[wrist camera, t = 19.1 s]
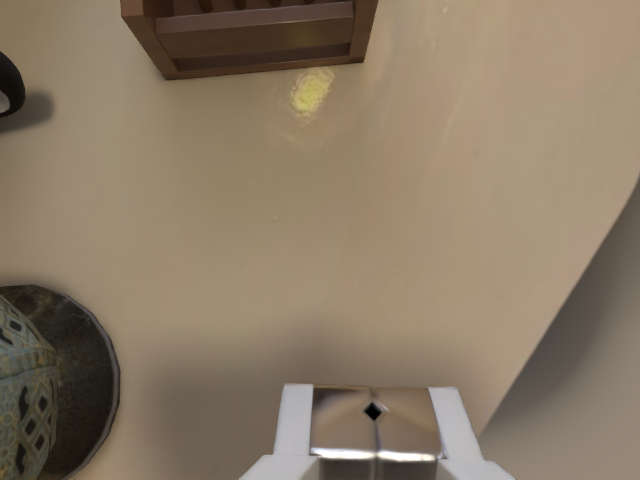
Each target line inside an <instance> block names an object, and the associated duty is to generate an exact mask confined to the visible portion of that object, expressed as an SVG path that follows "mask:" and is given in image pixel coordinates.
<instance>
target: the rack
mask: <svg viewBox="0 0 640 480" xmlns="http://www.w3.org/2000/svg"><path fill="white" fill-rule="evenodd" d="M120 3H121V17H122V18H123V20H124V21H125V23H126V24H127V25H128V27H129V28H130V30H131V31H132V33H133V34H134V35H135V37H136V38H137V40H138V41H139V43H140V44H141V45H142V47H143V48H144V50H145V51H146V53H147V54H148V55H149V57H150V58H151V60H152V61H153V63H154V64H155V65H156V67H157V68H158V70H159V71H160V73H161V74H162V75H163V77H164V78H165V80H172V79H183V78H194V77H205V76H215V75H226V74H237V73H248V72H259V71H270V70H281V69H292V68H302V67H313V66H324V65H335V64H346V63H357V62H364V59H365V55H366V51H367V46H368V42H369V38H370V34H371V30H372V25H373V21H374V17H375V13H376V8H377V4H378V0H120Z"/></svg>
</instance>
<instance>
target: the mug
mask: <svg viewBox="0 0 640 480" xmlns="http://www.w3.org/2000/svg"><path fill="white" fill-rule="evenodd" d="M24 100H25V87H24V83H23V80H22V77H21V75H20V72H19V70H18V69H17V67H16V66H15V65H14V64H13V63H12V61H11V60H10V59H9V58H8V57H7V56H6V55H4V54H3V53H2V52H1V51H0V118H1V117H5V116H8V115H11V114H13V113H15V112H17V111H18V110H19V109H20V108H21V107H22V105H23V103H24Z"/></svg>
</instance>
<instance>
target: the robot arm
mask: <svg viewBox="0 0 640 480" xmlns="http://www.w3.org/2000/svg"><path fill="white" fill-rule="evenodd" d="M238 480H516V479H515V478H514V477H513V476H511V475H510V474H509V473H508V472H507V471H505V470H504V469H503V468H502V467H501V466H499V465H498V464H497V463H496V462H495V461H486V460H484V458H483V455H482V452H481V449H480V447H479V444H478V441H477V438H476V436H475V433H474V430H473V428H472V425H471V422H470V419H469V417H468V414H467V411H466V408H465V406H464V403H463V400H462V398H461V395H460V392H459V390H458V389H457V388H456V387H426V388H414V387H370V386H350V385H328V384H314V387H313V385H312V384H297V383H285V385H284V387H283V390H282V396H281V403H280V409H279V416H278V423H277V429H276V436H275V443H274V449H273V455H263V456H262V457H261V458H260V459H259V460H258V461H257V462H256V463H255V464H254V465H253V466H252V467H251V468H250V469H249V470H248V471H247V472H246V473H245V474H244V475H243V476H242V477H241V478H239V479H238Z"/></svg>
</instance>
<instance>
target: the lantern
mask: <svg viewBox="0 0 640 480" xmlns="http://www.w3.org/2000/svg"><path fill="white" fill-rule="evenodd" d="M119 398H120V368H119V365H118V361H117V358H116V355H115V351H114V348H113V344H112V341H111V339H110V338H109V336H108V335H107V333H106V332H105V330H104V329H103V328H102V326H101V325H100V323H99V322H98V320H97V319H96V318H95V316H94V315H93V314H92V313H91V312H89V311H88V310H87V309H85V308H84V307H83V306H81V305H80V304H79V303H77V302H76V301H74V300H73V299H72V298H70V297H69V296H67V295H64V294H61V293H58V292H55V291H52V290H49V289H46V288H42V287H39V286H36V285H20V286H5V287H0V480H67V479H68V478H70V477H71V476H73V475H74V474H75V473H77V472H78V471H80V470H81V469H83V468H84V467H85V466H86V465H87V464H88V463H89V461H90V460H91V459H92V457H93V456H94V455H95V453H96V452H97V450H98V449H99V448H100V446H101V445H102V444H103V442H104V441H105V439H106V438H107V437H108V435H109V432H110V429H111V426H112V423H113V421H114V418H115V415H116V412H117V409H118V406H119Z"/></svg>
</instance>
